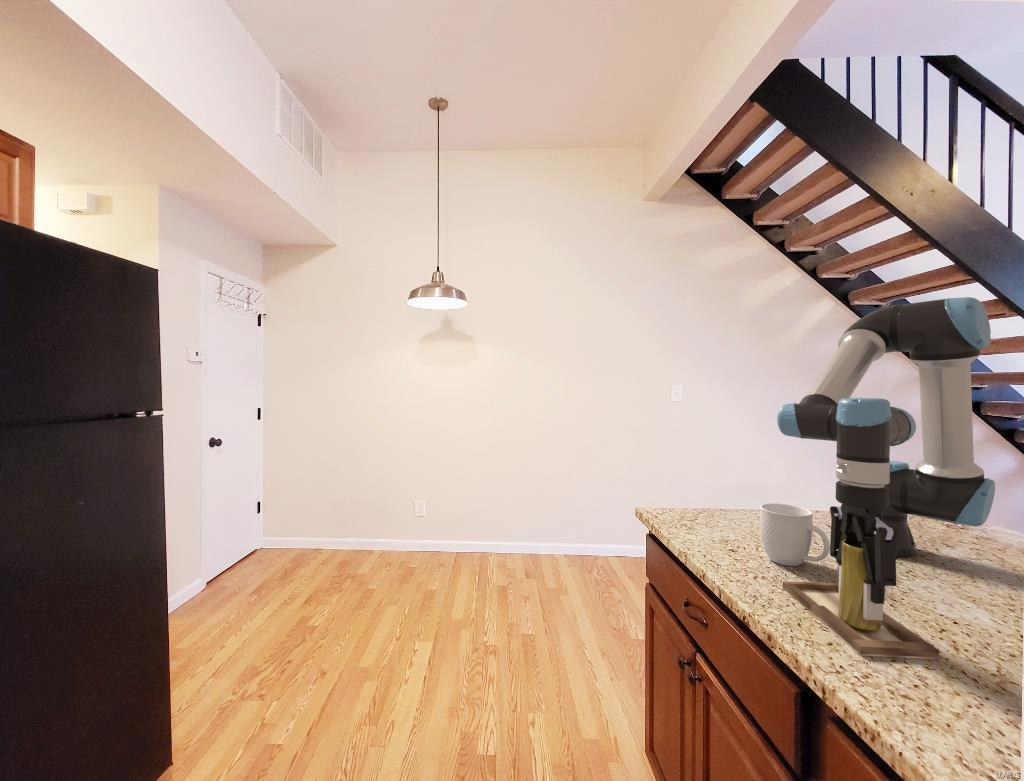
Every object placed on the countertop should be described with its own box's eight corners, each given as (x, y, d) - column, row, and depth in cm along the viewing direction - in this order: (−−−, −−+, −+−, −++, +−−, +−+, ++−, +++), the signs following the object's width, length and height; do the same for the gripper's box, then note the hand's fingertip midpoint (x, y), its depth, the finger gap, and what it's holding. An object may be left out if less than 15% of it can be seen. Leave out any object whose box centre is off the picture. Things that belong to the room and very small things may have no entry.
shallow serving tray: (841, 590, 92) (841, 583, 92) (939, 659, 69) (939, 650, 69) (782, 588, 93) (782, 581, 93) (860, 655, 70) (860, 646, 70)
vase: (830, 612, 81) (831, 537, 81) (863, 613, 81) (864, 538, 81) (854, 631, 75) (855, 550, 75) (890, 631, 75) (891, 551, 75)
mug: (838, 569, 102) (839, 515, 102) (818, 581, 96) (819, 523, 96) (772, 549, 115) (773, 500, 114) (750, 558, 109) (751, 507, 108)
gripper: (808, 471, 87) (807, 584, 88) (879, 495, 69) (876, 638, 69) (847, 472, 87) (845, 585, 87) (929, 497, 68) (926, 641, 69)
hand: (859, 609), depth 78 cm, fingers closed on vase, 6 cm apart
